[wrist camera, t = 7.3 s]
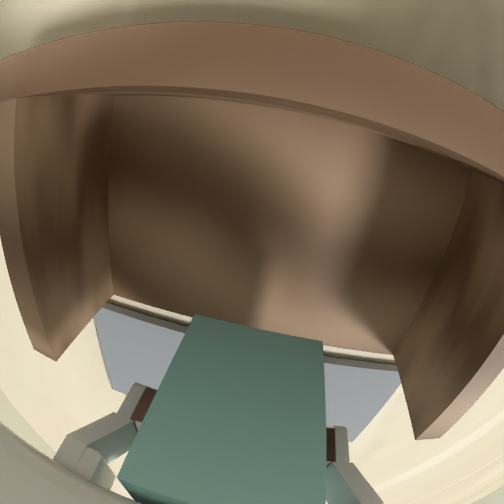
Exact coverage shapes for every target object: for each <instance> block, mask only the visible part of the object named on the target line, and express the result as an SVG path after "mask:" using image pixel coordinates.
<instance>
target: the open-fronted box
mask: <svg viewBox="0 0 504 504" xmlns="http://www.w3.org/2000/svg"><path fill="white" fill-rule="evenodd" d="M0 236H1V242H2V247H3V251H4V256H5V260H6V265H7V269H8V273H9V277H10V280H11V284H12V288H13V291H14V294H15V298H16V301H17V304H18V307H19V310H20V313H21V316H22V319H23V322H24V324H25V327H26V330H27V333H28V335H29V338H30V340H31V343H32V345H33V348H34V349H35V350H36V351H38V352H40V353H42V354H43V355H45V356H47V357H49V358H51V359H53V360H54V361H57V360H58V359H59V357H60V356H61V355H62V354H63V353H64V351H65V350H66V349H67V348H68V346H69V345H70V344H71V343H72V342H73V340H74V339H75V338H76V337H77V336H78V334H79V333H80V332H81V331H82V330H83V329H84V327H85V326H86V325H87V324H88V323H89V322H90V320H91V319H92V318H93V317H94V316H95V315H96V314H97V312H98V311H99V310H100V309H101V308H102V307H103V306H104V304H105V303H106V302H107V301H108V300H109V299H110V298H111V297H112V296H113V295H117V296H120V297H123V298H126V299H130V300H133V301H136V302H139V303H143V304H146V305H150V306H153V307H157V308H160V309H164V310H167V311H171V312H175V313H178V314H182V315H186V316H190V317H194V315H195V314H197V315H201V316H205V317H209V318H213V319H217V320H221V321H226V322H230V323H234V324H239V325H243V326H248V327H252V328H257V329H262V330H267V331H271V332H276V333H281V334H287V335H292V336H297V337H303V338H308V339H314V340H320V341H323V345H326V346H332V347H338V348H345V349H352V350H359V351H366V352H373V353H381V354H390V355H393V356H394V359H395V362H396V366H397V369H398V373H399V376H400V380H401V383H402V387H403V391H404V395H405V398H406V402H407V406H408V410H409V414H410V419H411V423H412V427H413V432H414V437H415V440H422V439H434V438H440V437H441V436H442V435H443V434H445V433H446V432H447V431H448V430H449V429H450V428H451V427H452V426H453V425H454V424H455V423H456V422H457V421H458V420H459V419H460V418H461V417H462V416H463V415H464V414H465V413H466V412H467V411H468V410H469V409H470V407H471V406H472V405H473V404H474V403H475V402H476V401H477V400H478V399H479V397H480V396H481V395H482V394H483V393H484V392H485V390H486V389H487V388H488V387H489V386H490V384H491V383H492V382H493V381H494V380H495V378H496V377H497V376H498V374H499V373H500V372H501V371H502V369H503V368H504V111H502V110H501V109H499V108H498V107H496V106H494V105H493V104H491V103H490V102H488V101H486V100H485V99H483V98H481V97H480V96H478V95H476V94H474V93H473V92H471V91H469V90H467V89H465V88H464V87H462V86H460V85H458V84H456V83H454V82H452V81H450V80H448V79H446V78H444V77H442V76H440V75H438V74H436V73H433V72H431V71H429V70H427V69H425V68H422V67H420V66H418V65H415V64H413V63H410V62H408V61H405V60H403V59H400V58H397V57H395V56H392V55H389V54H386V53H383V52H380V51H378V50H374V49H371V48H368V47H365V46H362V45H358V44H355V43H351V42H348V41H344V40H340V39H336V38H332V37H328V36H323V35H319V34H314V33H309V32H304V31H299V30H293V29H287V28H280V27H273V26H265V25H256V24H245V23H230V22H166V23H152V24H141V25H133V26H125V27H118V28H111V29H105V30H100V31H95V32H90V33H85V34H80V35H76V36H72V37H68V38H64V39H60V40H57V41H53V42H50V43H46V44H43V45H40V46H37V47H34V48H31V49H28V50H25V51H22V52H19V53H17V54H14V55H12V56H9V57H7V58H4V59H2V60H0Z"/></svg>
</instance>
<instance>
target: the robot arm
mask: <svg viewBox="0 0 504 504" xmlns="http://www.w3.org/2000/svg"><path fill="white" fill-rule="evenodd" d="M156 392H157V390H156V389H153V388H150V387H148V386H145V385H142V384H139V383H137V382H135V383H134V384H133V385H132V387H131V389H130V390H129V392H128V394H127V396H126V398H125V399H124V401H123V403H122V405H121V407H120V408H119V410H118V412H117V413H114V412H113V413H111V414H109V415H107V416H105V417H103V418H101V419H99V420H97V421H95V422H93V423H91V424H89V425H87V426H85V427H82V428H80V429H78V430H76V431H74V432H72V433H70V434H67V436H66V438H65V439H64V441H63V443H62V444H61V446H60V448H59V449H58V451H57V453H56V455H55V456H54V458H53V459H51V458H49V457H48V456H46V455H45V454H43V453H42V452H40V451H39V450H37V449H35V448H34V447H33V446H31V445H30V444H28V443H27V442H26V441H24V440H23V439H22V438H20V437H19V436H18V435H16V434H15V433H14V432H12V431H11V430H10V429H9V428H7V427H6V426H5V425H4V424H3V423H1V422H0V504H142V503H139V502H137V501H134V500H131V499H129V498H127V497H124V496H122V495H119V494H117V493H115V492H113V491H110V489H111V487H112V484H113V482H114V480H115V477H116V476H115V474H114V472H113V471H112V470H111V468H110V467H109V465H108V464H109V463H110V462H112V461H113V460H115V459H116V458H118V457H119V456H121V455H122V454H124V453H126V452H127V451H129V450H130V447H131V445H132V443H133V441H134V439H135V437H136V434H137V432H138V430H139V428H140V426H141V424H142V422H143V420H144V417H145V415H146V413H147V411H148V409H149V407H150V405H151V403H152V400H153V398H154V396H155V394H156ZM326 501H327V503H328V504H383V501H382V500H381V498H380V497H379V496H378V495H377V493H376V492H375V491H374V490H373V488H372V487H371V486H370V484H369V483H368V482H367V481H366V479H365V478H364V477H363V475H362V474H361V473H360V471H359V470H358V469H357V468H356V466H355V465H354V464H353V463H349V447H348V432H347V428H346V427H345V426H333V425H326Z"/></svg>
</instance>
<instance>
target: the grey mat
mask: <svg viewBox="0 0 504 504" xmlns="http://www.w3.org/2000/svg"><path fill="white" fill-rule="evenodd" d="M94 320H95V324H96V329H97V334H98V338H99V343H100V347H101V351H102V355H103V359H104V363H105V366H106V370H107V374H108V377H109V381H110V384H111V387H112V389H114V390H116V391H119V392H121V393H124V394H126V395H127V394H128V392H129V390H130V389H131V387H132V385H133V384H134V383H135V382H137V383H139V384H142V385H145V386H148V387H150V388H153V389H156V390H158V388H159V386H160V384H161V382H162V380H163V378H164V376H165V373H166V371H167V369H168V367H169V365H170V363H171V361H172V359H173V357H174V355H175V353H176V351H177V349H178V347H179V345H180V343H181V341H182V339H183V337H184V335H185V333H186V331H187V329H188V327H187V326H184V325H180V324H176V323H173V322H169V321H166V320H162V319H159V318H155V317H152V316H148V315H145V314H142V313H139V312H135V311H132V310H129V309H126V308H123V307H120V306H117V305H114V304H111V303H108V302H106V303H105V304H104V306H103V307H102V308H101V309H100V310H99V311H98V312H97V314H96V315H95V316H94ZM323 357H324V375H325V399H326V425H333V426H345V427H346V428H347V432H348V442H353V441H354V439H355V438H356V437H357V436H358V435H359V434H360V433H361V432H362V431H363V430H364V428H365V427H366V426H367V425H368V424H369V423H370V422H371V420H372V419H373V418H374V417H375V416H376V414H377V413H378V412H379V411H380V410H381V408H382V407H383V406H384V405H385V403H386V402H387V401H388V400H389V398H390V397H391V396H392V394H393V393H394V392H395V390H396V389H397V388H398V386H399V385H400V384H401V380H400V376H399V373H398V369H397V366H396V365H393V364H384V363H375V362H366V361H358V360H351V359H344V358H337V357H330V356H324V355H323Z"/></svg>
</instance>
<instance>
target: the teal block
mask: <svg viewBox="0 0 504 504" xmlns="http://www.w3.org/2000/svg"><path fill="white" fill-rule="evenodd" d="M117 478H118V480H119V481H120V482H121V484H122V485H123V486H124V488H125V489H126V490H127V491H128V493H129V494H130V495H131V496H132V498H133V499H134V500H135V501H137V502H139V503H142V504H325V501H326V399H325V375H324V357H323V341H320V340H314V339H308V338H303V337H297V336H292V335H287V334H281V333H276V332H271V331H267V330H262V329H257V328H252V327H248V326H243V325H239V324H234V323H230V322H226V321H221V320H217V319H213V318H209V317H205V316H201V315H197V314H195V315H194V317H193V319H192V321H191V323H190V325H189V327H188V329H187V331H186V333H185V335H184V337H183V339H182V341H181V343H180V345H179V347H178V349H177V351H176V353H175V355H174V357H173V359H172V361H171V363H170V365H169V367H168V369H167V371H166V373H165V376H164V378H163V380H162V382H161V384H160V386H159V388H158V390H157V392H156V394H155V396H154V398H153V400H152V403H151V405H150V407H149V409H148V411H147V413H146V415H145V417H144V420H143V422H142V424H141V426H140V428H139V430H138V432H137V434H136V437H135V439H134V441H133V443H132V445H131V447H130V450H129V452H128V454H127V456H126V458H125V461H124V463H123V465H122V467H121V469H120V472H119V474H118V476H117Z"/></svg>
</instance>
